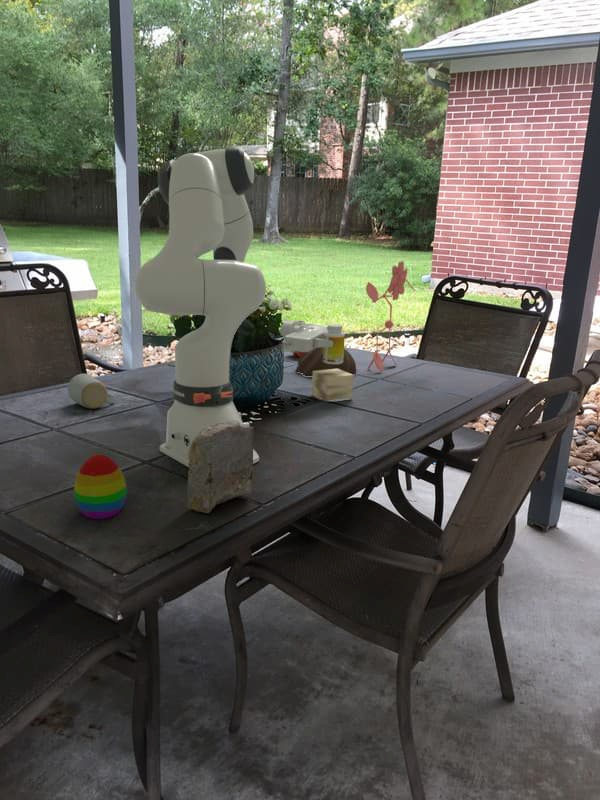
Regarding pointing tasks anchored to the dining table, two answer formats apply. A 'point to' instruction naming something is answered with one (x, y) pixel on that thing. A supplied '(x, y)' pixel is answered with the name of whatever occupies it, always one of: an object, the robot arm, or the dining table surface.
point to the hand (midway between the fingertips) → (337, 341)
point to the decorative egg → (100, 487)
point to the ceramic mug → (88, 391)
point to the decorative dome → (315, 362)
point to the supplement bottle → (337, 351)
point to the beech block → (332, 384)
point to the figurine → (396, 289)
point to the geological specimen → (220, 465)
